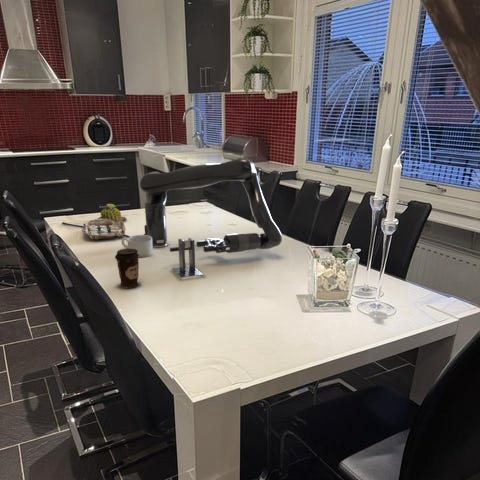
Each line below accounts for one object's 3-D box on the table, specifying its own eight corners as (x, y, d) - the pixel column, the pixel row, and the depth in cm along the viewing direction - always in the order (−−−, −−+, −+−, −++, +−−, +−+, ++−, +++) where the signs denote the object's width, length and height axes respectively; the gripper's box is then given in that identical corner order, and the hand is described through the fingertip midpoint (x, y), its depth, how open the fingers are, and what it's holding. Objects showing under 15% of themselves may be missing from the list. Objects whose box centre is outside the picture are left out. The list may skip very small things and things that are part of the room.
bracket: (172, 271, 186) (170, 236, 180) (193, 268, 189) (192, 234, 183) (181, 280, 176) (179, 244, 170) (203, 277, 179) (202, 242, 173)
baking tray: (131, 240, 228) (130, 229, 226) (84, 244, 221) (83, 232, 219) (121, 227, 254) (120, 217, 252) (80, 230, 246) (78, 219, 244)
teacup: (158, 254, 207) (157, 236, 204) (143, 260, 198) (142, 242, 195) (132, 250, 212) (131, 233, 209) (117, 256, 203) (115, 238, 200)
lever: (170, 253, 186) (169, 247, 186) (189, 251, 189) (188, 245, 189) (177, 247, 175) (176, 241, 175) (198, 245, 178) (196, 239, 178)
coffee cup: (146, 283, 172) (143, 249, 167) (134, 290, 165) (131, 255, 160) (125, 280, 175) (122, 246, 169) (113, 287, 168) (109, 252, 162)
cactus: (122, 224, 260) (121, 206, 256) (94, 224, 260) (92, 206, 256) (129, 218, 275) (128, 201, 271) (102, 217, 275) (101, 200, 271)
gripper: (230, 230, 201) (194, 233, 194) (243, 238, 189) (206, 241, 183) (230, 247, 204) (194, 251, 197) (243, 256, 192) (206, 260, 186)
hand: (200, 246), depth 190 cm, fingers open, 8 cm apart
